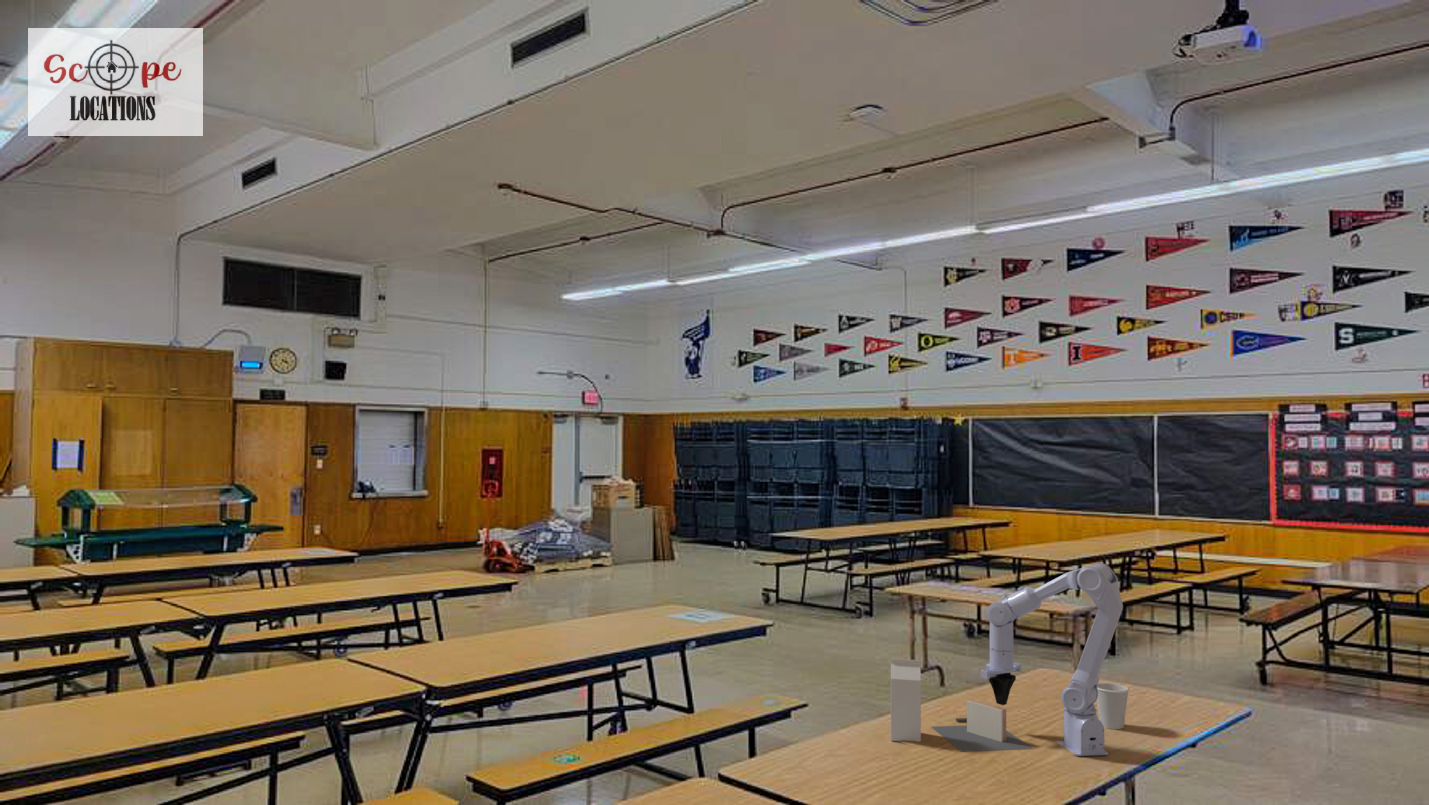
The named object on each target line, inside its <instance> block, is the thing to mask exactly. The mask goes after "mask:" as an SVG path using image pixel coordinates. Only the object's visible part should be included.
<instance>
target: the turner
mask: <svg viewBox="0 0 1429 805" xmlns="http://www.w3.org/2000/svg"><path fill="white" fill-rule="evenodd" d="M955 722H957V723H967V717H960V718H959V717H957V718H955Z"/></svg>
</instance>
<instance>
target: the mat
mask: <svg viewBox="0 0 1429 805" xmlns="http://www.w3.org/2000/svg"><path fill="white" fill-rule="evenodd" d="M931 729H933V730H934V731H935V732H936V733H938V734H939V735H940V736H942V737H943V738H944V739H945V740H947V741H948V742H949V743H950V744H951V745H952V746H953V747H955V748H956V749H957V750H958V751H960V753H961V752H989V751H1014V750H1015V751H1018V750H1020V751H1021V750H1034V748H1033V747H1032V746H1030V745H1029V744H1027V743H1026V742H1024V741H1023V740H1021V739H1020V738H1018V736H1015V735H1014V734H1013V733H1011V732H1009V730H1007V729H1006V741H1003V742H1000V741H997V740H994V739H990V738H987V737H984V736H980V735H977V734H974V733H970V732H967V725H949V726H948V725H943V726H942V725H941V726H931Z"/></svg>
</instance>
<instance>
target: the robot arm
mask: <svg viewBox="0 0 1429 805" xmlns="http://www.w3.org/2000/svg"><path fill="white" fill-rule="evenodd" d="M1067 589H1068V590H1074V591H1075V590H1076V591H1078V590H1080V589H1081V590H1082V591H1083V592H1084V593H1085V594H1086V595H1088V596H1089V597H1090V598H1091V599H1092V601H1093V603H1094V605H1095V606H1096V608H1097V611H1096V613H1095V614H1096V615H1095V616H1094V620H1093V623H1092V625H1091V628H1090V631H1089V634H1088V637H1087V640H1086V643H1085V645H1084V648H1083V651H1082V654H1081V657H1080V659H1079V662H1078V665H1077V668H1076V670H1075V672H1074V673H1073V676H1072V677H1071V678H1070V681H1069V684H1068V685H1067V686H1065V687H1064V688H1063V690H1062V691H1061V694H1060V701H1061V704H1062V705H1063V740H1058V741H1056V743H1057V744H1058V745H1060V746H1062V747H1063V748H1064V749H1067V750H1068V751H1069V752H1071V753H1073V755H1075V756H1077V757H1087V756H1089V757H1091V756H1108V755H1109V752H1107V751H1106V750H1105V749H1106V748H1105V747H1106V745H1105V728H1104V726H1103V724H1102V722H1101V721H1100V720H1099V717H1098V715H1097V708H1096V706H1095V704H1094V703H1095V702H1097V698H1098V689H1097V685H1098V683H1100V676H1099V675H1100V674H1101V670H1102V667H1103V664H1104V661H1105V660H1106V656H1107V654H1108V652H1109V648H1110V645H1111V642H1112V639H1113V636H1114V634H1115V631H1116V628H1117V626H1118V623H1119V620H1120V618H1121V614H1122V611H1123V608H1124V605H1123V600H1122V595H1121V592H1120V588H1119V578H1118V577H1117V575H1116V574H1115V572H1114V571H1113V570H1112V568H1111V567H1110V566H1109V565H1107V564H1105V563H1103V562H1095V563H1092V564H1091V565H1086V566H1084V567H1081V568H1078V569H1074V570H1071V571H1068V572H1064V573H1063V574H1062V575H1060V576H1058V577H1055V578H1054V579H1052V580H1050V581H1048V582H1046V583H1044V584H1042V585H1041V586H1038V587H1037V588H1034V587H1030V586H1026V587H1024V586H1021V587H1018V588H1017V591H1016V592H1014V593H1012V594H1010V595H1004V596H1002V597H1001V600H998V601H994V602H992V603H991V604H990V605H989V606H988V607H987V609H986V612H985V613H986V617H987V620H988V621H989V663H986V665H985V666H986V667H985V668H983V669H981V670H980V679H983V680H988V682H989V684H990V686H991V688H992V691H993V695H994V698H995V702H996V704H998V705H1001V706H1005V705H1007V704H1008V700H1009V696H1010V692H1011V689H1012V687H1013V685H1014V683H1015V681H1016V679H1017V678H1016V677H1017V676H1016V675H1015V674H1012V673H1015V672H1018V673H1020V672H1022V663H1021V662H1016V661H1015V662H1014V621H1015V620H1016V619H1020V618H1021V617H1023V616H1025V615H1028V614H1029V613H1032V612H1033V611H1036V610H1038V609H1040V607H1041V606H1042V601H1043V600H1046V599H1048V598H1050V597H1052V596H1054V595H1057V594H1059V593H1061V592H1064V591H1066V590H1067Z"/></svg>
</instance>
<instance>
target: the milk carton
mask: <svg viewBox="0 0 1429 805" xmlns="http://www.w3.org/2000/svg"><path fill="white" fill-rule="evenodd" d="M921 676H922V674H921V660H918V659H901V658H891V659H890V741H892V742H904V741H906V742H907V741H909V742H922V732H921V730H922V729H921V728H922V720H921V719H922V718H921V715H922V712H921V711H922V710H921V709H922V708H921V707H922V706H921V705H922V704H921V702H922V690H921V689H922V686H921V685H922V680H921Z"/></svg>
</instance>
